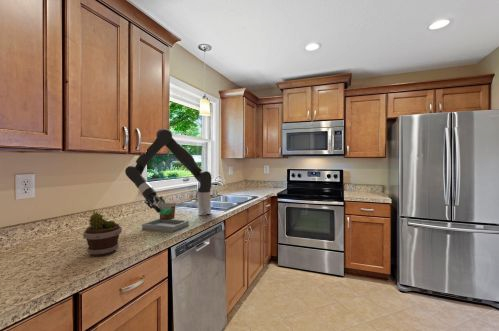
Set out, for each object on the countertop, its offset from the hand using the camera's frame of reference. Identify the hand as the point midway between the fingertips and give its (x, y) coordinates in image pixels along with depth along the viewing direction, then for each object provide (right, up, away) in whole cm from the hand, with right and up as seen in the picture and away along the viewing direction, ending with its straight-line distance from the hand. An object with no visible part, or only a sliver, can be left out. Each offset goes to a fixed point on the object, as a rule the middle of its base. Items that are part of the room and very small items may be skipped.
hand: (162, 210), depth 149 cm
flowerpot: (-12, -11, -41) cm, 44 cm away
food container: (+2, -5, -1) cm, 5 cm away
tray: (+2, -10, -1) cm, 10 cm away
